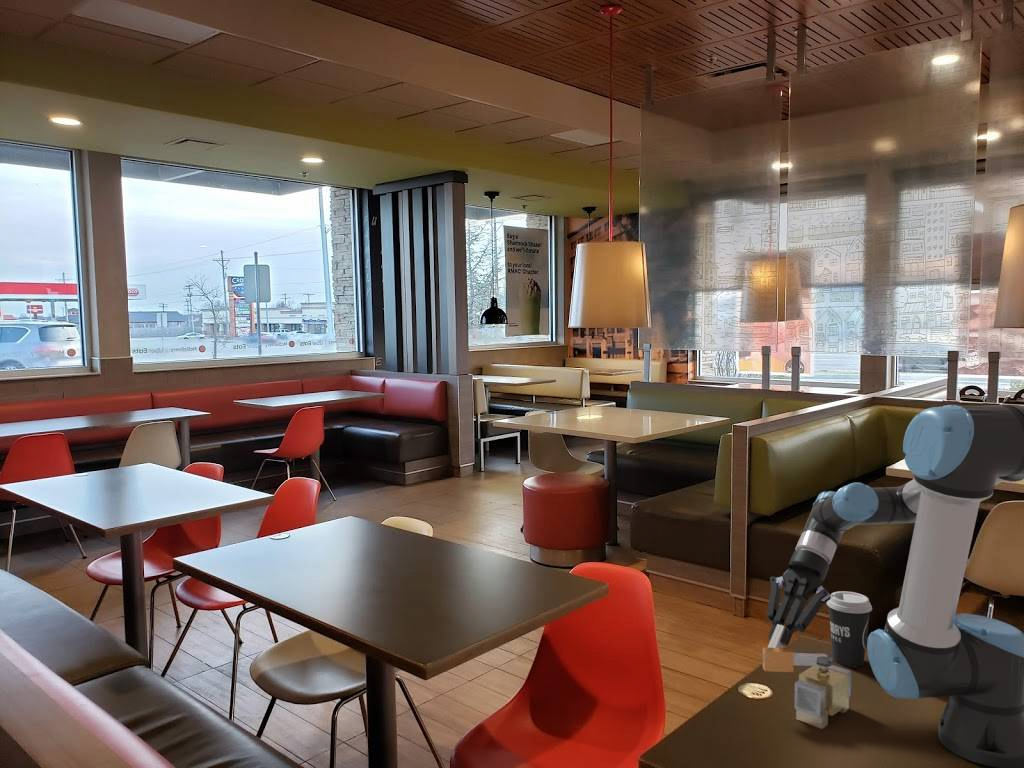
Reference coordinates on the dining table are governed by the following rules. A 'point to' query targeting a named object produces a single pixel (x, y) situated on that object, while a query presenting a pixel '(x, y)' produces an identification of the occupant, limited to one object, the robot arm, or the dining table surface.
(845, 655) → the coffee cup
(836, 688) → the valve body
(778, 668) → the lever
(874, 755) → the dining table surface
